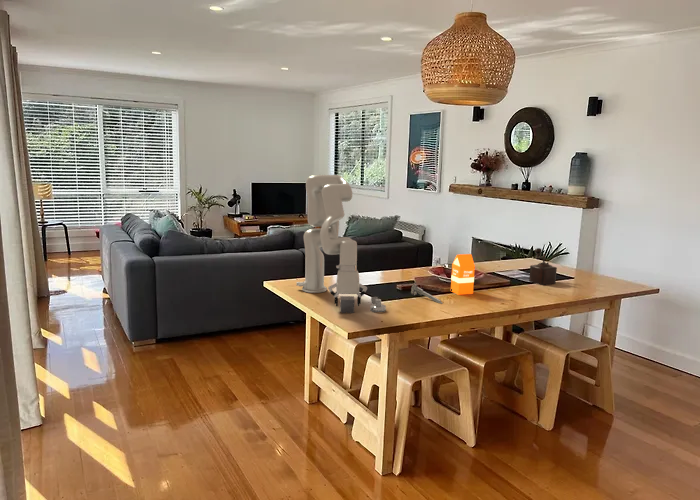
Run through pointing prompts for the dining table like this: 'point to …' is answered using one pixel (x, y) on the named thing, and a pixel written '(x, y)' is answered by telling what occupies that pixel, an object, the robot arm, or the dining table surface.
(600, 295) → the dining table surface
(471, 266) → the orange juice
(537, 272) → the brown coffee grinder
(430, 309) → the dining table surface
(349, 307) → the grey stone cube
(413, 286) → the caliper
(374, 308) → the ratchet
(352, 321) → the dining table surface
